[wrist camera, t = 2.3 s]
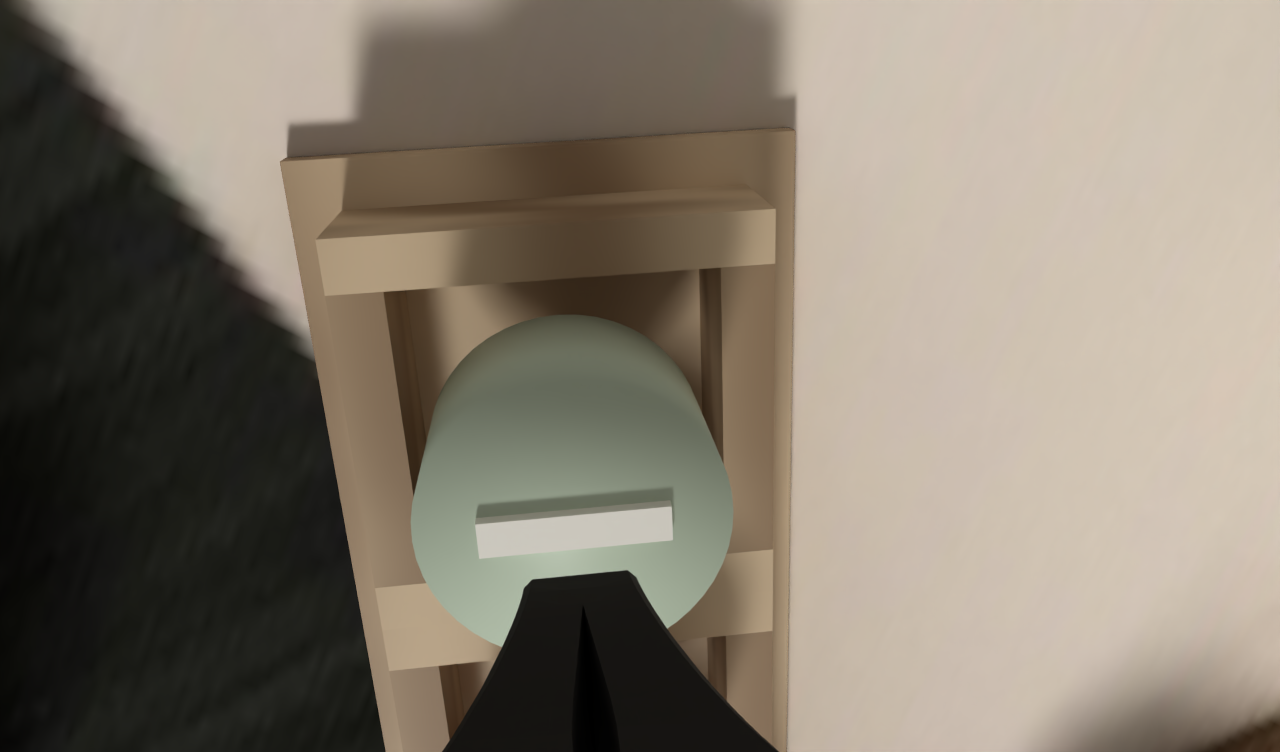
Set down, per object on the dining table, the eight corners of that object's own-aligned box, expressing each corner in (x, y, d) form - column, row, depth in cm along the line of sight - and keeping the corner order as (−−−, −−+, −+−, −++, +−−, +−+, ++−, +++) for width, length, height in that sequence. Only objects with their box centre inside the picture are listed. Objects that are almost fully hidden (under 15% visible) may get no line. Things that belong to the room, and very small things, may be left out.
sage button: (447, 573, 18) (431, 682, 15) (412, 325, 17) (387, 395, 14) (704, 548, 19) (737, 650, 16) (698, 304, 17) (734, 367, 14)
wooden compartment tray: (444, 1053, 28) (435, 1168, 25) (285, 157, 19) (243, 184, 16) (778, 1007, 29) (804, 1113, 26) (789, 127, 20) (832, 147, 17)
